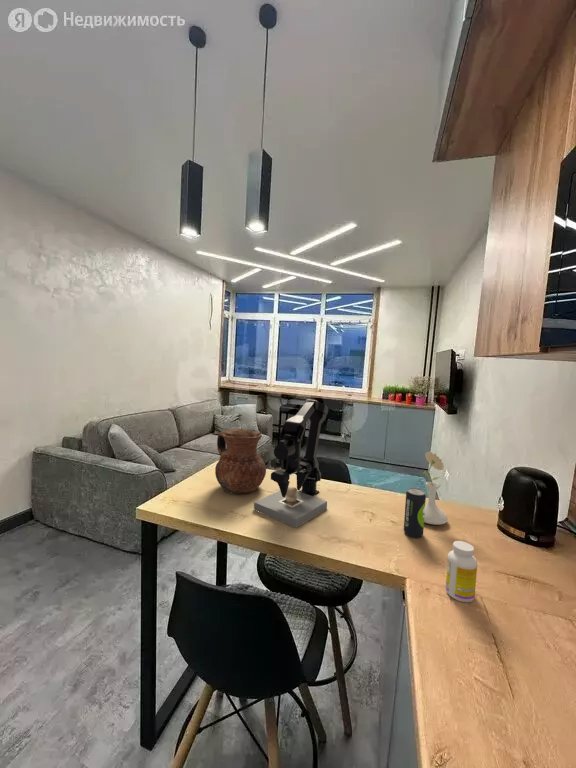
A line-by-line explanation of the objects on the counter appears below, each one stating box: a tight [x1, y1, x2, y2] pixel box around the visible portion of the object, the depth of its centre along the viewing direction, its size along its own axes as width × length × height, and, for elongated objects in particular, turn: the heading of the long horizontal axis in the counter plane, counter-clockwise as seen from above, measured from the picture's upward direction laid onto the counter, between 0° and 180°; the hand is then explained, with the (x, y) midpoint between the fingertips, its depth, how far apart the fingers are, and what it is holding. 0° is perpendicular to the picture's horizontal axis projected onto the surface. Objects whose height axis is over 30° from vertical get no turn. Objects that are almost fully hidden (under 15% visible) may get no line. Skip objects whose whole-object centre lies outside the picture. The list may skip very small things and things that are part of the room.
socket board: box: [253, 490, 328, 529], centre depth 130 cm, size 20×20×3 cm
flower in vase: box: [422, 451, 448, 526], centre depth 125 cm, size 13×11×25 cm
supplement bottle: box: [445, 540, 478, 603], centre depth 85 cm, size 7×7×13 cm
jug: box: [214, 428, 267, 494], centre depth 148 cm, size 22×21×25 cm
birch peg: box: [286, 486, 298, 506], centre depth 130 cm, size 4×4×8 cm
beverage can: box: [403, 487, 427, 539], centre depth 114 cm, size 6×6×15 cm
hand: (291, 493), depth 129 cm, fingers open, 9 cm apart
